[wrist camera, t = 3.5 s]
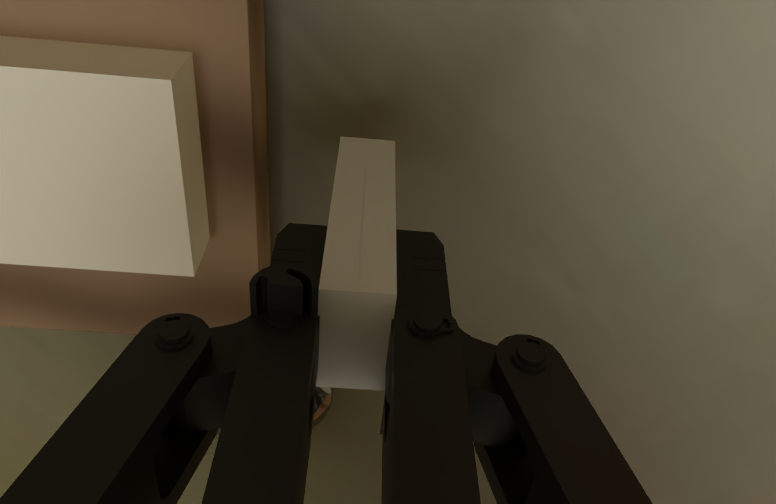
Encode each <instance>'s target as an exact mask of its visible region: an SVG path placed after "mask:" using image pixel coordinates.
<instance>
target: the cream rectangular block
mask: <svg viewBox="0 0 776 504" xmlns="http://www.w3.org/2000/svg"><path fill="white" fill-rule="evenodd" d="M209 239H210V234H209V224H208V213H207V203H206V192H205V182H204V171H203V161H202V150H201V140H200V129H199V119H198V108H197V98H196V87H195V77H194V66H193V56H192V52H187V51H175V50H164V49H152V48H140V47H129V46H117V45H105V44H94V43H82V42H70V41H59V40H47V39H35V38H24V37H12V36H1V35H0V263H1V264H15V265H30V266H44V267H59V268H73V269H88V270H102V271H117V272H131V273H146V274H160V275H174V276H189V277H194V276H195V274H196V271H197V269H198V266H199V264H200V261H201V259H202V256H203V254H204V251H205V249H206V246H207V244H208V241H209Z"/></svg>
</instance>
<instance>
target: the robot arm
mask: <svg viewBox="0 0 776 504" xmlns="http://www.w3.org/2000/svg"><path fill="white" fill-rule="evenodd" d="M249 289H250V309H251V315H250V316H248V317H247V318H245V319H243V320H241V321H239V322H237V323H233V324H229V325H225V326H219V327H213V328H209V326H208V325H207V324H206V322H205V321H204V320H203V319H202V318H199V317H197V316H195V315H192V314H185V313H174V314H168V315H163V316H161V317H159V318H156V319H154V320H152V321H151V322H149V323H148V324H147V325H146V326H145V327H143V328H142V329H141V331H140V332H139V333H138V334H137V335H136V337H135V338H134V339H133V340H132V341H131V343H130V344H129V345H128V346H127V347H126V348H125V350H124V351H123V352H122V353H121V354H120V356H119V357H118V358H117V359H116V360H115V362H114V363H113V364H112V365H111V366H110V368H109V369H108V370H107V371H106V372H105V374H104V375H103V376H102V377H101V378H100V380H99V381H98V382H97V383H96V384H95V386H94V387H93V388H92V389H91V390H90V392H89V393H88V394H87V395H86V396H85V398H84V399H83V400H82V401H81V402H80V404H79V405H78V406H77V407H76V408H75V409H74V411H73V412H72V413H71V414H70V415H69V417H68V418H67V419H66V420H65V421H64V423H63V424H62V425H61V426H60V427H59V429H58V430H57V431H56V432H55V433H54V435H53V436H52V437H51V438H50V439H49V441H48V442H47V443H46V444H45V445H44V447H43V448H42V449H41V450H40V451H39V453H38V454H37V455H36V456H35V457H34V459H33V460H32V461H31V462H30V463H29V465H28V466H27V467H26V468H25V469H24V470H23V472H22V473H21V474H20V475H19V476H18V478H17V479H16V480H15V481H14V482H13V484H12V485H11V486H10V487H9V488H8V490H7V491H6V492H5V493H4V494H3V496H2V497H1V498H0V504H177V502H178V500H179V498H180V497H181V495H182V493H183V491H184V490H185V488H186V486H187V485H188V483H189V481H190V479H191V478H192V476H193V474H194V472H195V471H196V469H197V467H198V465H199V464H200V462H201V460H202V458H203V457H204V455H205V453H206V452H207V450H208V448H209V446H210V445H211V443H212V441H213V439H214V438H215V436H216V434H217V431H218V428H220V427H222V428H221V431H220V435H219V439H218V443H217V447H216V451H215V454H214V458H213V462H212V466H211V470H210V474H209V477H208V481H207V485H206V489H205V493H204V497H203V500H202V504H303V501H304V493H305V484H306V476H307V467H308V459H309V451H310V442H311V434H312V425H313V417H314V409H315V388H316V387H332V388H347V389H363V390H379V391H385V399H384V407H383V415H382V423H381V431H380V434H383V447H382V504H481V503H480V495H479V486H478V478H477V470H476V462H475V454H474V447H475V450H476V452H477V455H478V457H479V460H480V462H481V465H482V467H483V470H484V472H485V475H486V477H487V479H488V482H489V484H490V487H491V489H492V492H493V494H494V497H495V499H496V502H497V504H652V502H651V501H650V499H649V497H648V496H647V494H646V493H645V491H644V489H643V488H642V486H641V484H640V483H639V481H638V480H637V478H636V476H635V475H634V473H633V471H632V470H631V468H630V467H629V465H628V463H627V462H626V460H625V458H624V457H623V455H622V454H621V452H620V450H619V449H618V447H617V445H616V444H615V442H614V441H613V439H612V437H611V436H610V434H609V432H608V431H607V429H606V428H605V426H604V424H603V423H602V421H601V419H600V418H599V416H598V415H597V413H596V411H595V410H594V408H593V407H592V405H591V403H590V402H589V400H588V398H587V397H586V395H585V394H584V392H583V390H582V389H581V387H580V385H579V384H578V382H577V381H576V379H575V377H574V376H573V374H572V372H571V371H570V369H569V368H568V366H567V364H566V363H565V361H564V359H563V358H562V356H561V355H560V353H559V352H558V351H557V350H556V349H555V348H554V347H553V346H552V345H551V344H549V343H547V342H546V341H544V340H543V339H540V338H537V337H534V336H531V335H517V334H516V335H513V336H509V337H506V338H504V339H503V340H502V341H501V342H500V343H498V346H496V345H493V344H490V343H487V342H483V341H481V340H478V339H476V338H473V337H471V336H470V335H468V334H466V333H465V332H463V331H462V330H461V329H460V328H459V327H458V324H457V322H456V320H455V319H454V318H453V317H452V314H451V306H450V298H449V289H448V280H447V273H446V263H445V254H444V245H443V244H442V243H441V242H440V240H439V239H438V238H437V236H436V235H435V234H434V233H433V232H420V231H406V230H396V179H395V141H391V140H379V139H367V138H355V137H342V136H341V137H340V144H339V151H338V158H337V165H336V172H335V179H334V186H333V192H332V199H331V206H330V213H329V220H328V226H321V225H308V224H295V223H289V224H288V225H287V226H286V227H285V228H284V229H283V230H282V231H281V232H280V233H279V234H278V235H277V238H276V242H275V246H274V251H273V254H272V258H271V262H270V266H269V267H267V268H263V269H262V270H260V271H259V272H257V273H256V274H254V276H253V277H252V279H251V281H250V282H249ZM473 441H474V446H473Z"/></svg>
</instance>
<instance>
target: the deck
mask: <svg viewBox="0 0 776 504" xmlns="http://www.w3.org/2000/svg"><path fill="white" fill-rule="evenodd" d="M0 35H1V36H12V37H24V38H35V39H47V40H59V41H70V42H82V43H94V44H105V45H117V46H129V47H140V48H152V49H164V50H175V51H187V52H192V56H193V66H194V77H195V87H196V98H197V108H198V119H199V129H200V140H201V150H202V161H203V171H204V182H205V192H206V203H207V213H208V224H209V234H210V239H209V241H208V244H207V246H206V249H205V251H204V254H203V256H202V259H201V261H200V264H199V266H198V269H197V271H196V274H195V276H194V277H189V276H174V275H160V274H146V273H131V272H117V271H102V270H88V269H73V268H59V267H44V266H30V265H15V264H1V263H0V326H10V327H26V328H41V329H57V330H72V331H88V332H103V333H119V334H134V335H137V334H138V333H139V332H140V331H141V329H142V328H143V327H145V326H146V325H147V324H148V323H149V322H151V321H152V320H154V319H156V318H159V317H161V316H163V315H168V314H174V313H185V314H192V315H195V316H197V317H199V318H202V319H203V320H204V321H205V322H206V324H207V325H208V326H209V328H213V327H219V326H225V325H229V324H233V323H237V322H239V321H241V320H243V319H245V318H247V317H248V316H250V315H251V309H250V289H249V282H250V281H251V279H252V277H253V276H254V274H256V273H257V272H259V271H260V270H262V269H263V268H267V267H269V266H270V262H271V248H270V212H269V175H268V138H267V101H266V65H265V28H264V0H0Z"/></svg>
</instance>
